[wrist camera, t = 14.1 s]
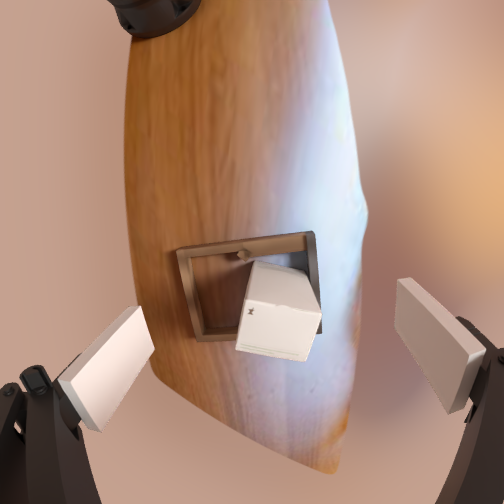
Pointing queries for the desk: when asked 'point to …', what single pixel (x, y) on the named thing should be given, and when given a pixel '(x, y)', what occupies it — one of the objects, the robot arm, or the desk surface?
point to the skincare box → (278, 313)
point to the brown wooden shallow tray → (246, 250)
